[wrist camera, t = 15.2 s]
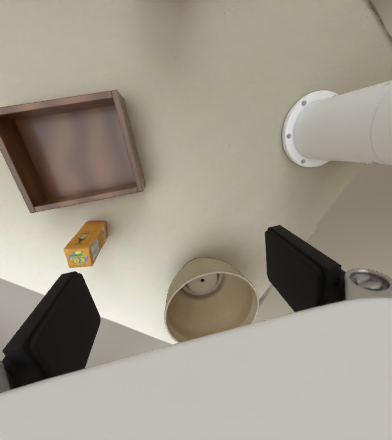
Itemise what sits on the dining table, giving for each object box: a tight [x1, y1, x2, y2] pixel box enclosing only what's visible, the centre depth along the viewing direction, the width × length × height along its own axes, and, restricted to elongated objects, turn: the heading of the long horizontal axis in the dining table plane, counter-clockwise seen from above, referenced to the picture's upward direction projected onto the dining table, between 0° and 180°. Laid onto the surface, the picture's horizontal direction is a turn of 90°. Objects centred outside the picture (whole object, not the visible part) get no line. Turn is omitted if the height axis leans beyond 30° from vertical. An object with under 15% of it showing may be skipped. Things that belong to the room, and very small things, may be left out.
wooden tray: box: [0, 90, 146, 213], centre depth 31 cm, size 17×14×5 cm
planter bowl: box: [165, 257, 259, 343], centre depth 39 cm, size 16×16×11 cm
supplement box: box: [64, 221, 107, 268], centre depth 33 cm, size 3×3×10 cm
